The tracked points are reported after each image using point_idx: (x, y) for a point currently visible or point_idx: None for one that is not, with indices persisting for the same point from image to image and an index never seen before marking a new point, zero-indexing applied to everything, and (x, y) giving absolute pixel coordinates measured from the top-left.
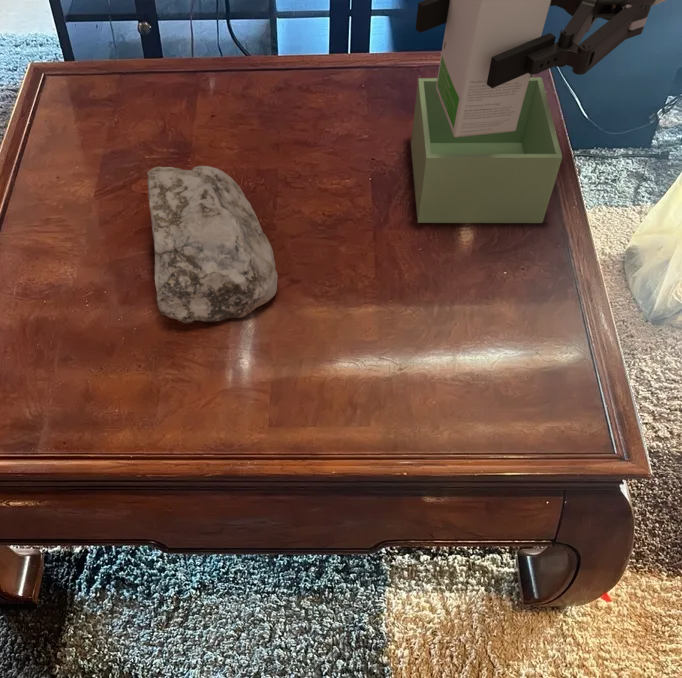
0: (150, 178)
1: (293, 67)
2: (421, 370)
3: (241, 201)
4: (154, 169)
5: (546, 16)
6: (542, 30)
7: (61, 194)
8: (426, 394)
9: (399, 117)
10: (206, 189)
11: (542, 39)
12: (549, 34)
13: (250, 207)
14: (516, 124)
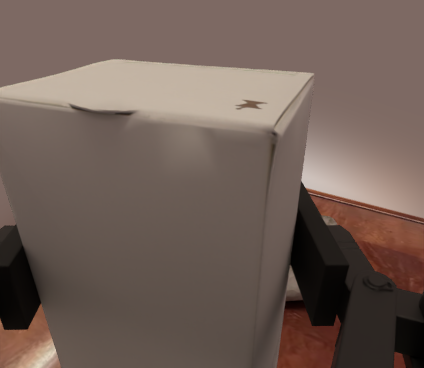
0: (322, 216)
1: None
2: (50, 341)
3: (292, 274)
4: (332, 219)
5: (6, 192)
6: (18, 229)
7: (370, 229)
8: (30, 331)
9: None
10: None
11: (12, 241)
12: (5, 261)
13: (289, 286)
14: None
